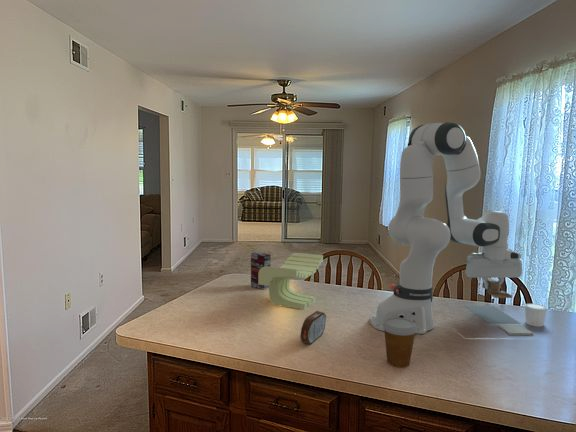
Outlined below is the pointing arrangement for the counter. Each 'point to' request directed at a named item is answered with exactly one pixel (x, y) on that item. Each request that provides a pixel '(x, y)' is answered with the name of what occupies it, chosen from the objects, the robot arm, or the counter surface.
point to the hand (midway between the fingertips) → (492, 288)
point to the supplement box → (258, 267)
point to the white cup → (535, 314)
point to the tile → (514, 329)
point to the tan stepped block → (496, 289)
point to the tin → (313, 327)
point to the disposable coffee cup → (399, 340)
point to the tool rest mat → (492, 314)
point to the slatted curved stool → (280, 278)
